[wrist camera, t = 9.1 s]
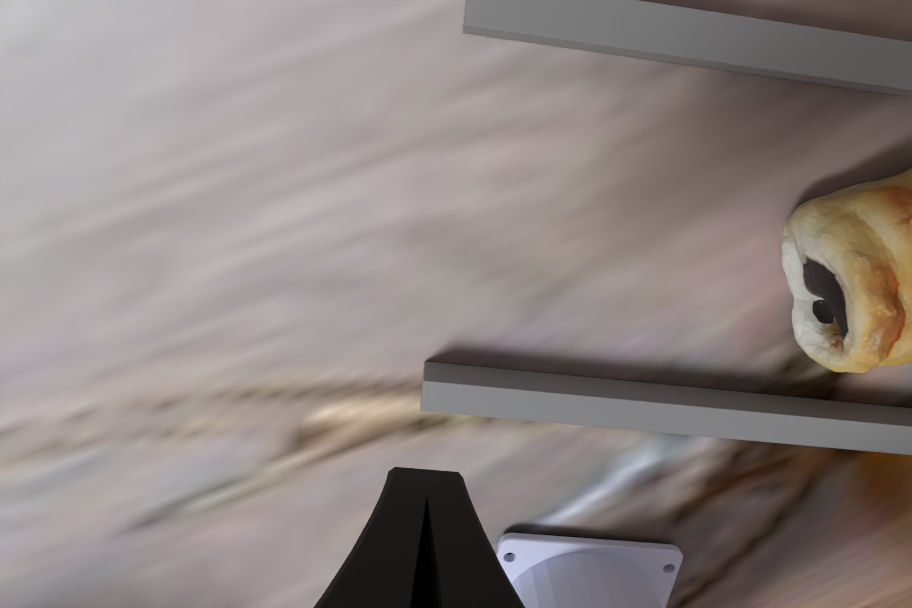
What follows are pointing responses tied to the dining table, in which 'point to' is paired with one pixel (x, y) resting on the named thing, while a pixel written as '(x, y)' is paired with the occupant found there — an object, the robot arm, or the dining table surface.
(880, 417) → the bay
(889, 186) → the pastry
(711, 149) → the dining table surface
